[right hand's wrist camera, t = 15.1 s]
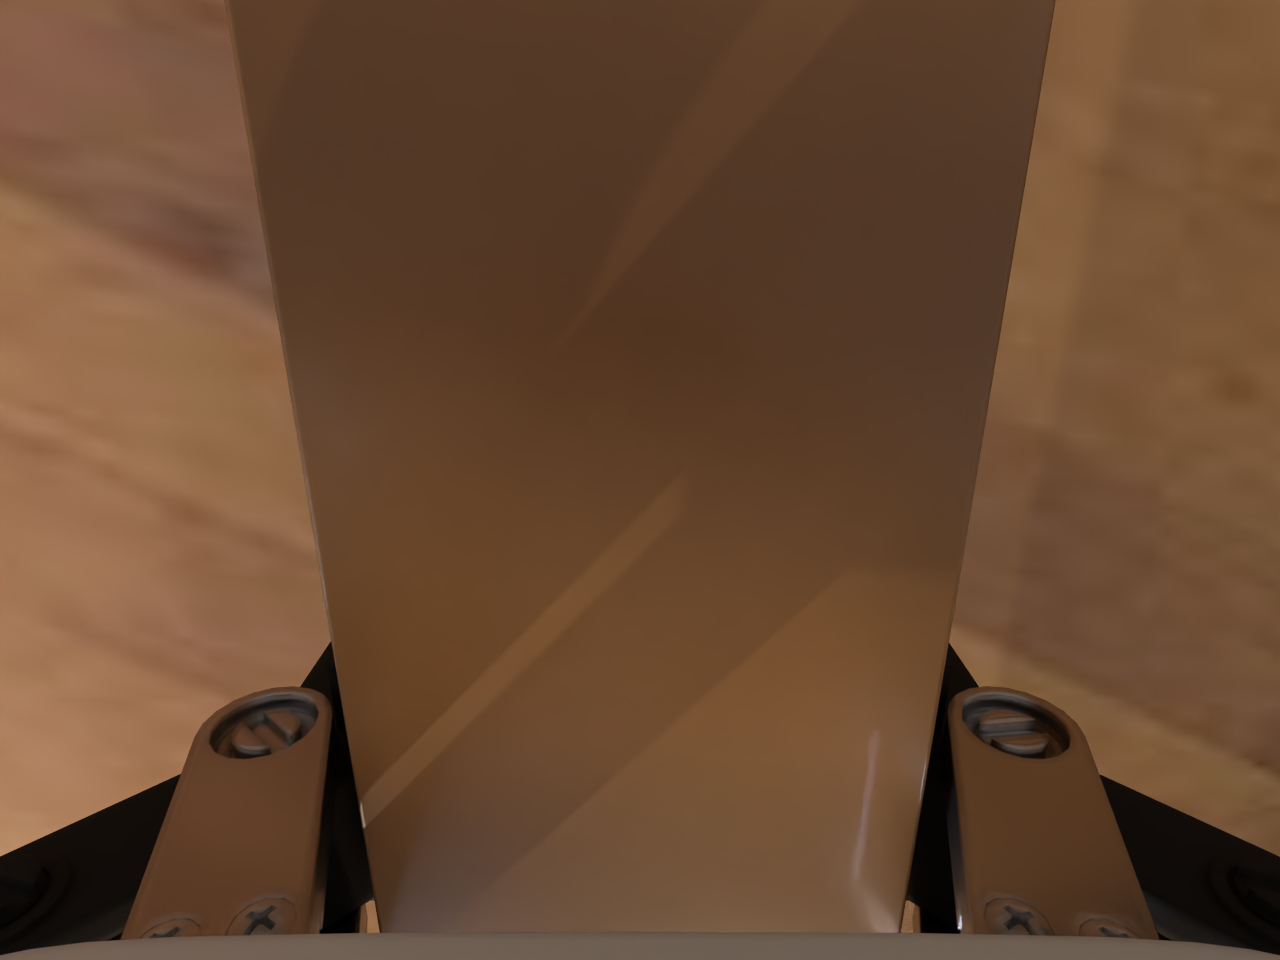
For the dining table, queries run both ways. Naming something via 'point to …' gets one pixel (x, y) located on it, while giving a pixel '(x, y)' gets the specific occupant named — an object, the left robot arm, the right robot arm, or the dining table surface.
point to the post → (640, 430)
